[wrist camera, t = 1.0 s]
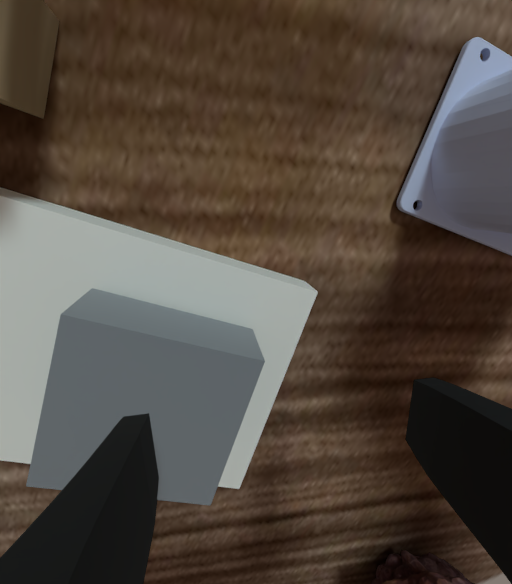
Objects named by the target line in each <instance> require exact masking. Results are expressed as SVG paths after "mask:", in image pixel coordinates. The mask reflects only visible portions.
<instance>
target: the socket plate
mask: <svg viewBox="0 0 512 584" xmlns="http://www.w3.org/2000/svg"><path fill="white" fill-rule="evenodd" d="M92 288H94V289H98V290H102V291H106V292H110V293H113V294H117V295H121V296H125V297H129V298H133V299H137V300H141V301H145V302H149V303H153V304H157V305H161V306H164V307H168V308H172V309H176V310H180V311H184V312H188V313H192V314H196V315H200V316H204V317H208V318H211V319H215V320H219V321H223V322H227V323H231V324H235V325H239V326H243V327H247V328H251V329H253V331H254V334H255V337H256V339H257V342H258V344H259V347H260V350H261V352H262V355H263V357H264V360H265V363H264V365H263V368H262V371H261V373H260V376H259V378H258V381H257V384H256V386H255V389H254V392H253V394H252V397H251V400H250V402H249V405H248V408H247V410H246V413H245V415H244V418H243V421H242V423H241V426H240V429H239V431H238V434H237V437H236V439H235V442H234V445H233V447H232V450H231V452H230V455H229V458H228V460H227V463H226V466H225V468H224V471H223V474H222V476H221V479H220V482H219V484H218V486H219V487H227V488H236V489H239V488H240V486H241V483H242V481H243V478H244V476H245V473H246V471H247V468H248V466H249V463H250V461H251V458H252V456H253V453H254V451H255V448H256V446H257V443H258V441H259V438H260V436H261V433H262V431H263V428H264V426H265V423H266V421H267V418H268V416H269V413H270V411H271V408H272V406H273V403H274V401H275V398H276V396H277V393H278V391H279V388H280V386H281V383H282V381H283V378H284V376H285V373H286V371H287V368H288V366H289V363H290V361H291V358H292V356H293V353H294V351H295V348H296V346H297V343H298V341H299V338H300V336H301V333H302V331H303V328H304V326H305V323H306V321H307V318H308V316H309V313H310V310H311V308H312V305H313V303H314V300H315V298H316V295H317V293H318V292H317V291H316V290H315V289H314V288H313V287H311V286H310V285H309V284H308V283H307V282H305V281H303V280H300V279H296V278H293V277H290V276H287V275H283V274H280V273H277V272H274V271H270V270H267V269H264V268H261V267H258V266H254V265H251V264H248V263H245V262H241V261H238V260H235V259H232V258H228V257H225V256H222V255H219V254H215V253H212V252H209V251H206V250H202V249H199V248H196V247H193V246H189V245H186V244H183V243H180V242H176V241H173V240H170V239H167V238H164V237H160V236H157V235H154V234H151V233H147V232H144V231H141V230H138V229H134V228H131V227H128V226H125V225H121V224H118V223H115V222H112V221H108V220H105V219H102V218H99V217H95V216H92V215H89V214H86V213H82V212H79V211H76V210H73V209H70V208H66V207H63V206H60V205H57V204H53V203H50V202H47V201H44V200H40V199H37V198H34V197H31V196H27V195H24V194H21V193H18V192H14V191H11V190H8V189H5V188H1V187H0V460H2V461H10V462H19V463H27V464H31V460H32V455H33V450H34V445H35V440H36V435H37V430H38V425H39V420H40V415H41V410H42V405H43V400H44V395H45V390H46V385H47V380H48V375H49V370H50V365H51V360H52V355H53V350H54V345H55V340H56V335H57V330H58V325H59V320H60V315H61V314H62V313H63V312H64V311H65V310H66V309H68V308H69V307H70V306H71V305H72V304H74V303H75V302H76V301H77V300H78V299H80V298H81V297H82V296H83V295H84V294H86V293H87V292H88V291H89V290H90V289H92Z"/></svg>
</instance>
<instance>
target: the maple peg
mask: <svg viewBox="0 0 512 584" xmlns="http://www.w3.org/2000/svg"><path fill="white" fill-rule="evenodd" d="M59 22H60V21H59V20H58V18H57V17H56V16H55V15H54V13H53V12H52V11H51V10H50V8H49V7H48V6H47V5H46V3H45V2H44V1H43V0H0V103H1V104H4V105H7V106H9V107H12V108H15V109H17V110H20V111H23V112H26V113H28V114H31V115H34V116H37V117H39V118H42V119H44V114H45V108H46V102H47V96H48V90H49V83H50V77H51V71H52V65H53V59H54V53H55V46H56V40H57V34H58V28H59Z"/></svg>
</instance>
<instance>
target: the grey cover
mask: <svg viewBox="0 0 512 584" xmlns="http://www.w3.org/2000/svg"><path fill="white" fill-rule="evenodd" d="M264 363H265V360H264V357H263V355H262V352H261V350H260V347H259V344H258V342H257V339H256V337H255V334H254V331H253V329H251V328H247V327H243V326H239V325H235V324H231V323H227V322H223V321H219V320H215V319H211V318H208V317H204V316H200V315H196V314H192V313H188V312H184V311H180V310H176V309H172V308H168V307H164V306H161V305H157V304H153V303H149V302H145V301H141V300H137V299H133V298H129V297H125V296H121V295H117V294H113V293H110V292H106V291H102V290H98V289H94V288H92V289H90V290H89V291H88V292H87V293H86V294H84V295H83V296H82V297H81V298H80V299H78V300H77V301H76V302H75V303H74V304H72V305H71V306H70V307H69V308H68V309H66V310H65V311H64V312H63V313H62V314H61V315H60V320H59V325H58V330H57V335H56V340H55V345H54V350H53V355H52V360H51V365H50V370H49V375H48V380H47V385H46V390H45V395H44V400H43V405H42V410H41V415H40V420H39V425H38V430H37V435H36V440H35V445H34V450H33V455H32V460H31V465H30V470H29V475H28V480H27V485H26V486H28V487H38V488H48V489H57V490H63V489H64V487H65V486H66V485H67V484H68V483H69V481H70V480H71V479H72V478H73V477H74V476H75V474H76V473H77V472H78V471H79V470H80V469H81V467H82V466H83V465H84V464H85V463H86V461H87V460H88V459H89V458H90V457H91V455H92V454H93V453H94V452H95V450H96V449H97V448H98V447H99V445H100V444H101V443H102V442H103V441H104V439H105V438H106V437H107V436H108V434H109V433H110V432H111V431H112V429H113V428H114V427H115V426H116V424H117V423H118V422H119V421H120V420H121V419H122V418H123V417H124V416H132V415H140V414H148V413H149V416H150V423H151V429H152V436H153V442H154V449H155V455H156V462H157V468H158V475H159V483H158V495H157V500H163V501H173V502H183V503H192V504H202V505H211V503H212V500H213V497H214V495H215V492H216V489H217V487H218V484H219V482H220V479H221V476H222V474H223V471H224V468H225V466H226V463H227V460H228V458H229V455H230V452H231V450H232V447H233V445H234V442H235V439H236V437H237V434H238V431H239V429H240V426H241V423H242V421H243V418H244V415H245V413H246V410H247V408H248V405H249V402H250V400H251V397H252V394H253V392H254V389H255V386H256V384H257V381H258V378H259V376H260V373H261V371H262V368H263V365H264Z"/></svg>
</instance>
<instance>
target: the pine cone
mask: <svg viewBox="0 0 512 584" xmlns="http://www.w3.org/2000/svg"><path fill="white" fill-rule="evenodd" d="M401 556H402V557H401ZM401 556H399V555H398V554H396V553H395V554H390V555H389V556H388V558H387V559H386V564H381V565H379V566H378V568H377V571H376V579H374V580H373V581H372V583H371V584H474V583H471V582H470V581H469V580H468V579H466V578H465V577H464V576H463V574H462V573H461V572H460V571H458V570H457V569H456V568H454V567H453V566H451V565H450V564H449V563H448V562H446V561H445V560H443V559H439V558H438V557H437V556H435V555H433V554H432V553H430V552H429V553H427V554H424V555H422V556H421V557H419V556H415V555H412V554H410V553H409V552H408V551H406V550H401Z"/></svg>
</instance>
